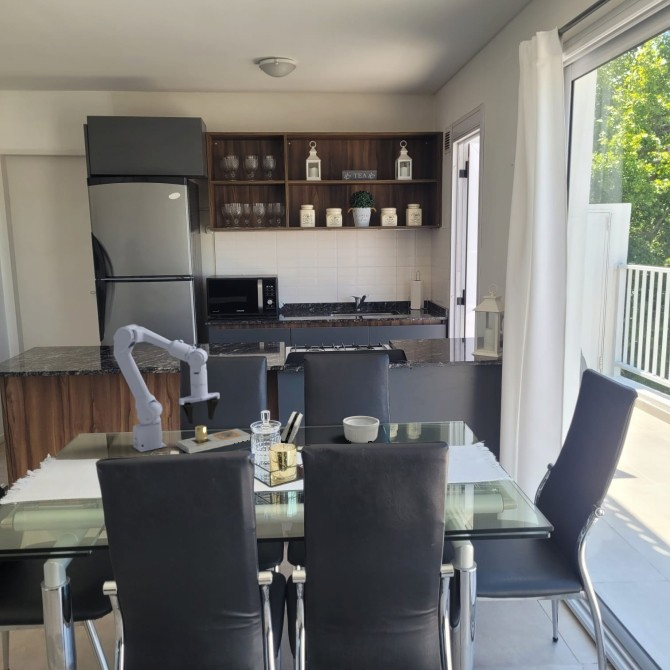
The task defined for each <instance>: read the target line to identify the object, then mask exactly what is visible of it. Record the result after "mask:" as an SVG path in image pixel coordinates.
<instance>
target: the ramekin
mask: <svg viewBox="0 0 670 670" xmlns="http://www.w3.org/2000/svg"><path fill="white" fill-rule="evenodd" d="M342 425H343V431H344V432H343V433H344V437H345V439H346V440H347V441H348V440H349V441H348V442H350V441H351V442H350V443H354V444H367V443H368V441H372V442H374V441H375V440H376V439H377V437H378V432H379V426H380V420H379V419H378V418H375V417H372V416H365V415H356V416H355V415H354V416H349V417H345V418H344V419H343V420H342ZM368 444H369V443H368Z"/></svg>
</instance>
